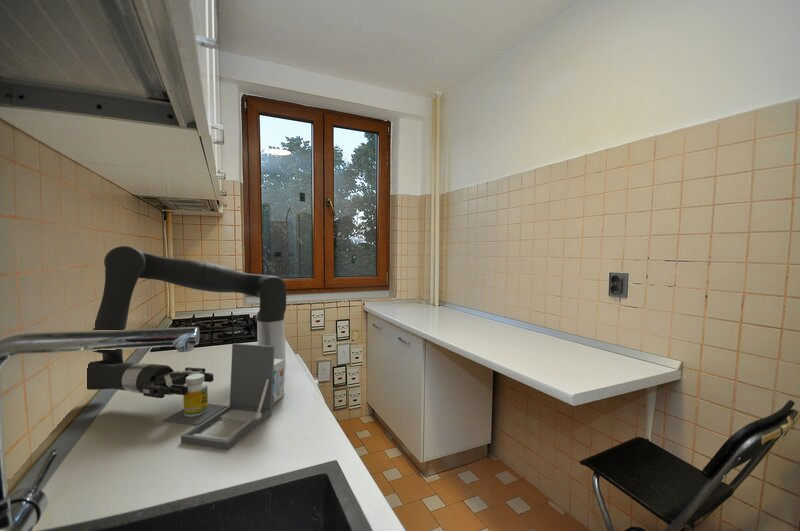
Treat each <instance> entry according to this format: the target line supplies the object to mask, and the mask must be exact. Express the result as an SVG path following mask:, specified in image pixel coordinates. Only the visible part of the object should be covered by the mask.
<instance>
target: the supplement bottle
mask: <svg viewBox="0 0 800 531" xmlns="http://www.w3.org/2000/svg"><path fill="white" fill-rule="evenodd" d="M186 383H187V384H186V386H188V394H186V395H182V396H183V409H184V415H185V416H187V417H194V416H199V415H202V414H204V413H205V412H206V411H207V409H208V404H209V402H208V397H209V396H208V382H204V374H192V375H189V376H187V377H186Z"/></svg>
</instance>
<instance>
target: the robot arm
mask: <svg viewBox="0 0 800 531" xmlns="http://www.w3.org/2000/svg"><path fill="white" fill-rule="evenodd" d="M103 264H104V269H105V271H104V287H103V288H104V289H103V294H102V298H101V301H100V305H99V308H98V311H97V313H96V317H95V321H94V323H95V328H94V329H93V328H92V331H93V330H124V329H125V330H126V329H127V324H128V318H129V311H130V304H131V299H132V296H133V293H134V290H135V287H136V285H137V283H138V280H139V279H146V280H156V281H162V282H166V283H169V284H173V285H176V286H179V287H182V288H183V287H184V288H187V289H192V290H197V291H202V292H203V291H204V292H211V293H239V294H244V295H247V296H252V297H256V298H259V310H258V312H257V314H256V318H257V319H256V322H257V323H256V326H257V335H256V336H257V345H263V346H275V349H274V359H283V360H284V366H285V365H286V364H285V363H286V337H285V314H286V312H287V311H286V310H287V286H286V282H285V281H284V280H283V279H282V278H281V277H279V276H275V275H270V274H269V275H267V274H255V273H247V272H242V271H238V270H236V269H233V268H230V267H229V266H228V267H227V266H223V265H222V264H221V265H220V264H216V263H211V262H206V261H201V260H194V259H185V258H171V257H165V256H160V255H156V254H152V253H148V252H146V251H141V250H139V249H138V248H136V247H133V246H130V245H129V246H128V245H121V246H116V247H114V248H112V249H109V251H108V252H107V253H106V255H105V257H104V260H103ZM92 352H94V353H98V354H101V355H102V360H95V361H89V362H90V363H89V364H88V368H87V389H88V390H90V391H91V390H92V391H94V390H96V391H97V390H119V391H126V392H127V391H129V392H131V393H136V394H142V395H143V397H148V398H156V399H163V398H165V397H166V395H167V396H173V395H179V396H183V395H186V394H188V386H186V384H187V383H186V377H187V376H189V375H192V374H204V382H206V383H211V382H213V381H214V379H215V378H214V373H213V372H206V368H204V367H202V368H201V367H189V366H188V367H185V368H184V370H181V371H180V370H174V369H173V368H172V367H171V366H169V365H167V364H165V365H164V364H156V363H145V362H144V363H133V362H124V356H123V355H124V354H123V348H122V349H116V350H97V351H92ZM88 390H87V391H88Z"/></svg>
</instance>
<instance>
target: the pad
mask: <svg viewBox="0 0 800 531" xmlns="http://www.w3.org/2000/svg"><path fill="white" fill-rule="evenodd" d="M227 406H228V405H222V404H216V403H215V404H214V403H208V409H207V411H206V412H205V413H204V414H202V415H199V416H194V417H187V416H185V415H184V408H182V409H181V410H179V411H176V412H175V413H173V414H172V415H169V416H168V417H166V418H164V419H163V422H166V423H175V424H182V425H189V426H195V425H199V424H201V423H202V422H204V421H205V420H207V419H208V418H210V417H212V416H213V415H215V414H216V413H218V412H219V411H221V410H223V409H224V408H226V407H227Z"/></svg>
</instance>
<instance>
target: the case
mask: <svg viewBox="0 0 800 531" xmlns="http://www.w3.org/2000/svg"><path fill="white" fill-rule="evenodd" d="M231 347H232V349H231V368H230V393H229V405H226V406H227V407H226V408H224V409H223V410H221V411H219V412H218V413H216V414H215V415H213V416H212V417H210V418H208V419H207V420H205V421H204V422H202V423H201V424H199V425H197V426H195V427H193V428H191V429H190V430H188V431H186V432H185V433H183V434H182V435H180V443H181V444H188V445H192V446H201V447H208V448H215V449H220V450H221V449H223V450H230V449H231V448H232V447H234V446H235V445H236V444H238V443H239V442H240V441H241V440H242V439H243V438H245V437H246V436H247V435H248V434H250V433H251V432H252V431H253V430H254V429H255V428H257V427H258V426H259V425H260V424H262V423H263V422H264V421H265V420H266V419H268V418H269V417H271V415H272V410H273V407H274V406H273V404H272V400H273V375H274V349H275V346H263V345H258V344H248V343H247V344H245V343H235V342H234V343H232V345H231ZM223 419H224V420H225V421H231V420H233V421H234V422H239V421H240V423H241V422H242V423H243V424H242V425H241V426H240V427H238V428H237V429H235V430H234V431H232V432H231V433H230V434H229V435H228V436H226V437H222V436H217V435H209V434H203V433H201V432H203V431H205V430H206V429H208V428H209V427H211V426H212V425H214V424H215V423H216V422H218V421H220V420H223ZM261 422H262V423H261ZM211 424H212V425H211ZM256 426H257V427H256ZM205 428H206V429H205Z"/></svg>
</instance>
